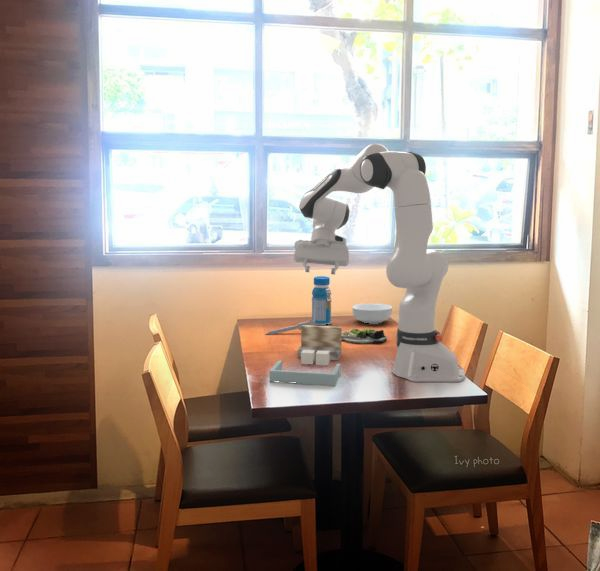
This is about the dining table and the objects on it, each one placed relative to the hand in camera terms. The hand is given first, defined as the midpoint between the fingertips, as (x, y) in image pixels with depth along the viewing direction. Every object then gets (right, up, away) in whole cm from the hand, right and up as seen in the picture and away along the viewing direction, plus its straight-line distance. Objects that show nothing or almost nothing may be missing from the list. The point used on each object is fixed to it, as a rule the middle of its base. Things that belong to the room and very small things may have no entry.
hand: (320, 272), depth 234 cm
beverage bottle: (+2, -21, +42) cm, 47 cm away
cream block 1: (-5, -31, -17) cm, 36 cm away
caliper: (-11, -24, +24) cm, 36 cm away
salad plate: (+18, -26, +16) cm, 35 cm away
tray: (-6, -33, -34) cm, 48 cm away
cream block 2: (0, -31, -18) cm, 36 cm away
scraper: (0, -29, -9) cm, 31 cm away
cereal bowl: (+24, -21, +44) cm, 54 cm away
